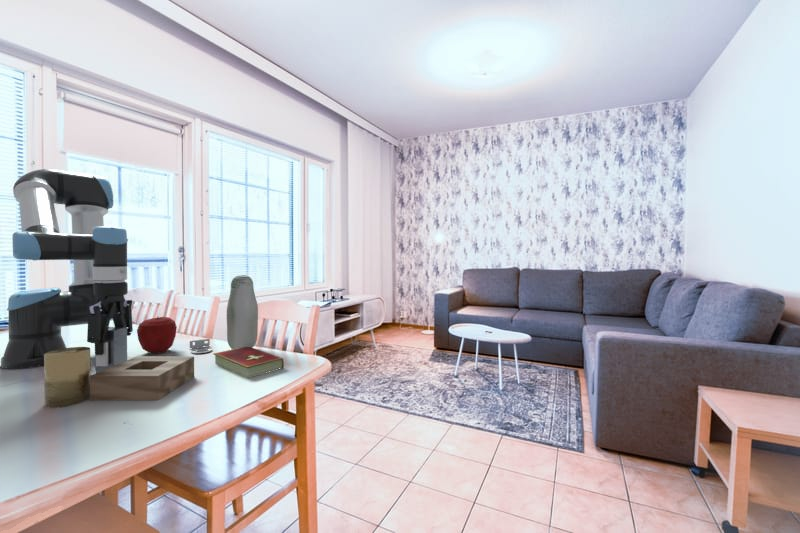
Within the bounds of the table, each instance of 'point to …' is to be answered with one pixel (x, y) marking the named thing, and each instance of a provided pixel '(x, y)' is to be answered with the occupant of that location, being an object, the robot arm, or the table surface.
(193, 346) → the bracket
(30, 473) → the table surface
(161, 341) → the apple
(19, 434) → the table surface
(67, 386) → the round bit
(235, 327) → the grey rounded tall shape
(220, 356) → the hardcover book
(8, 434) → the table surface
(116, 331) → the square bit
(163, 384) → the socket block
